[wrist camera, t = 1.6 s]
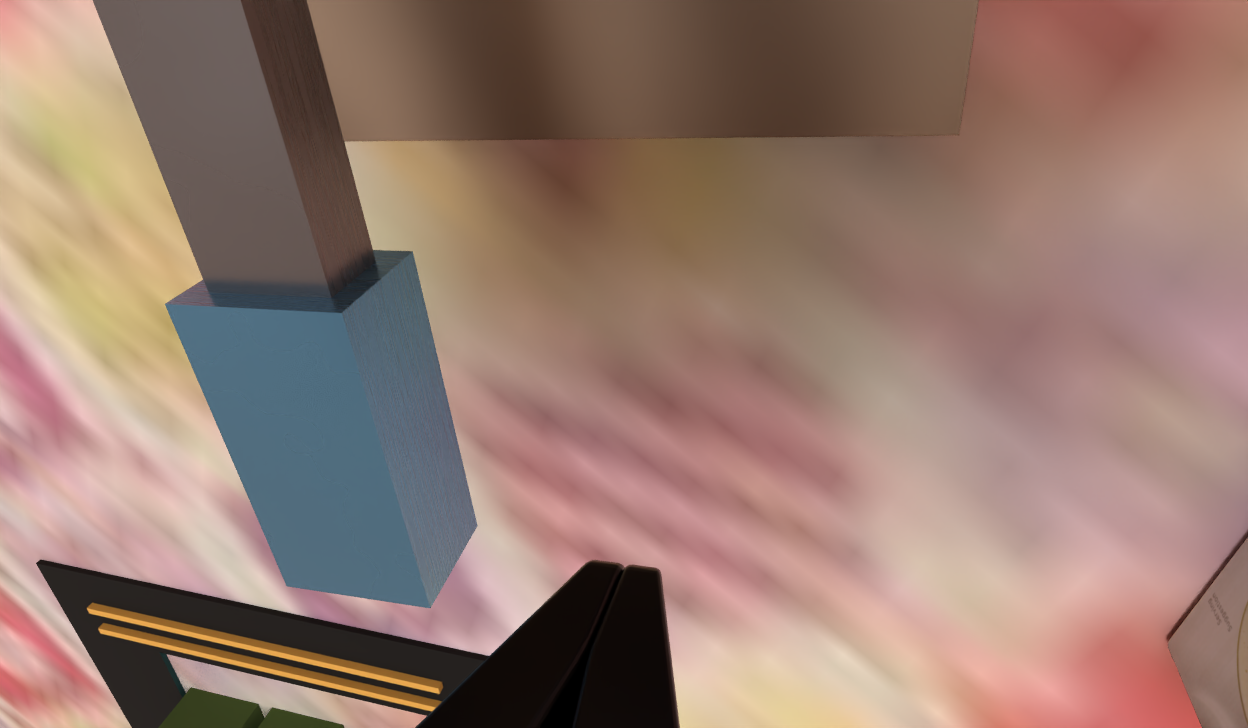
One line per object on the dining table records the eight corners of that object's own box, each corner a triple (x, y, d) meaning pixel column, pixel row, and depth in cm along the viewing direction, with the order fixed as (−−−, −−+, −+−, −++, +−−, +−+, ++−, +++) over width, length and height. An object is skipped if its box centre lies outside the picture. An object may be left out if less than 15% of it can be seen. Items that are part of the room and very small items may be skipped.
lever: (-58, -600, 8) (-300, -725, 6) (210, -685, 7) (14, -855, 5) (337, 509, 15) (276, 584, 14) (487, 526, 15) (441, 609, 13)
